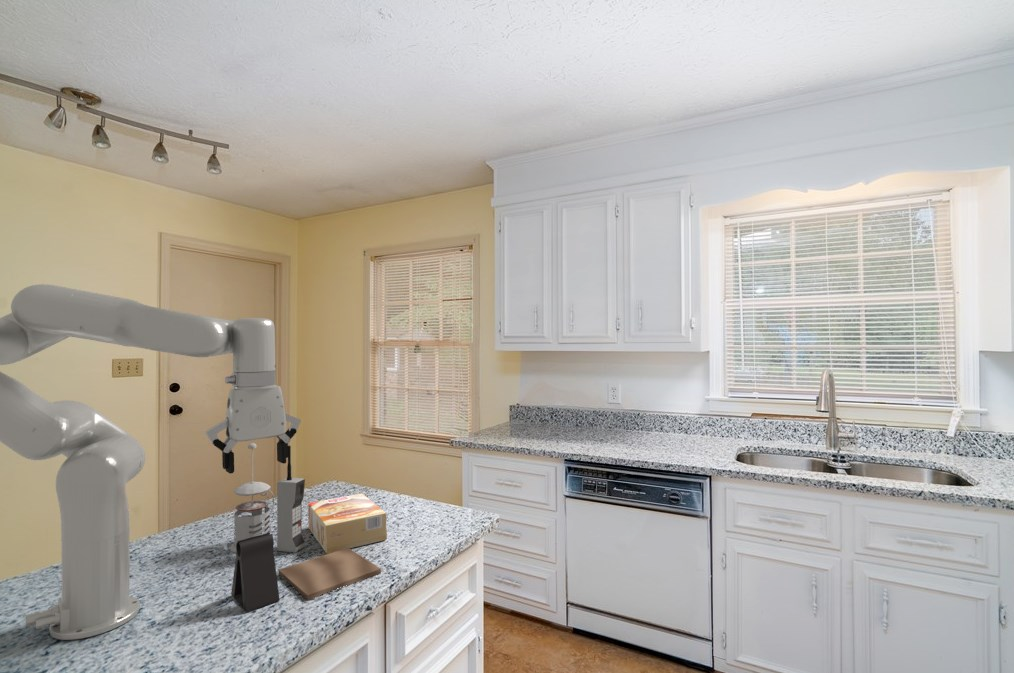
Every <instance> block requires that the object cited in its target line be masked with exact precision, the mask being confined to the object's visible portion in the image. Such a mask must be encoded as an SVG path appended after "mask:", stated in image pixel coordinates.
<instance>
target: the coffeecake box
mask: <svg viewBox="0 0 1014 673" xmlns="http://www.w3.org/2000/svg"><path fill="white" fill-rule="evenodd" d="M307 512H308V517H307V518H308V529H309V531H310V532H311V533H312V535H313V536H314V538H315V539H316V541H317V542H318V543H319V545H320V546H321V548H322V549H323V551H324V552H325V553H326V555H327V554H330V553H333V552H336V551H339V550H342V549H346V548H349V549H353V548H357V547H361V546H365V545H369V544H373V543H377V542H381V541H385V540H387V539H388V534H387V532H388V531H387V530H388V529H387V512H385V511H384V510H383V509H382V508H380V506H378V505H377V504H376V503H375V502H374V501H372V500H371V499H370V498H368V497H367V496H366V495H365V494H364V493H359V494H358V493H357V494H351V495H345V496H340V497H335V498H329V499H324V500H317V501H314V502H309V503H308V504H307Z"/></svg>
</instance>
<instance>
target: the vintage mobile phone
mask: <svg viewBox="0 0 1014 673" xmlns="http://www.w3.org/2000/svg"><path fill="white" fill-rule="evenodd" d="M291 449H292V447H291V445H289V444H288V458H287V467H286V468H287V474H286V475H287V477H286V478H284V479H281V480H279V481H277V482H276V486H277V490H276V492H277V493H276V497H277V498H276V502H277V504H276V506H277V507H276V508H277V510H276V515H277V516H276V519H277V522H276V530H277V532H276V534H277V536H276V544H277V545H276V548H277V551H278V552H281V551H282V552H283V553H291V552H293V554H294V553H295V554H296V553H298V552H299V551H300V550H303V549H304V547H305V546H306V541H305V538H304V536H303V534H302V532H303V531H302V525H303V524H302V523H303V522H302V521H303V520H302V516H303V515H302V514H303V513H302V506H303V504H302V503H303V501H304V496H305V485H306V484H305V482H306V478H301V477H300V478H299V477H292V465H291V462H292V460H291V458H292V456H291V455H292V453H291V452H292V450H291ZM298 550H299V551H298Z"/></svg>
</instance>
